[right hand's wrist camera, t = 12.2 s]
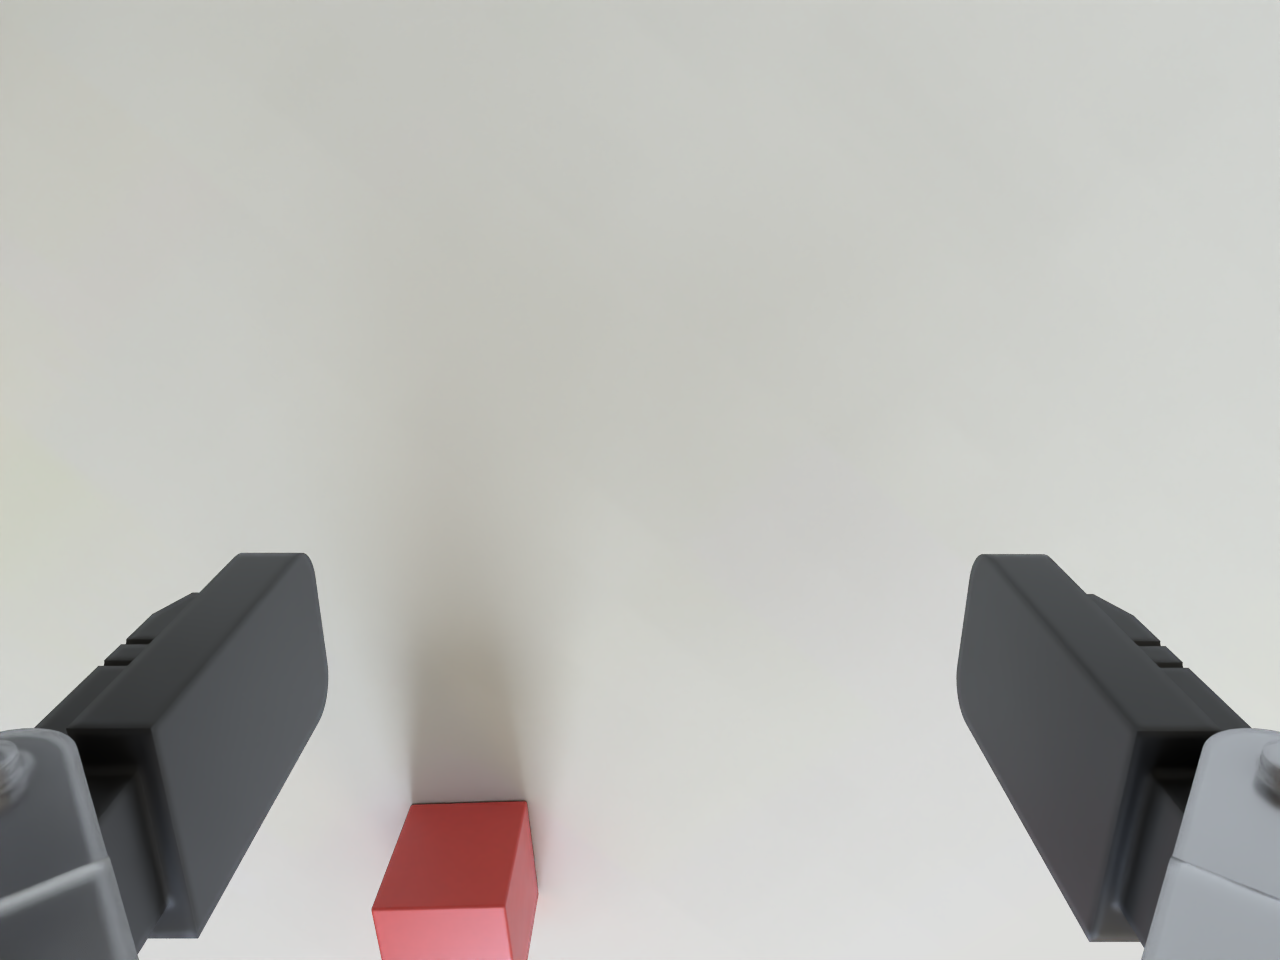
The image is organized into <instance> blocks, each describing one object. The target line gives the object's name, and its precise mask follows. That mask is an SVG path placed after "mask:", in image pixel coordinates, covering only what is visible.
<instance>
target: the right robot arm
mask: <svg viewBox="0 0 1280 960" xmlns="http://www.w3.org/2000/svg"><path fill="white" fill-rule="evenodd" d="M1182 663H1183V662H1182V661H1181V660H1180V659H1178V658H1177V657H1176V656H1175V655H1174V654H1173V653H1172V652H1171V651H1170V650H1169V649H1168V648H1167V647H1166V646H1161V645H1160V640H1159V639H1157V638H1156V637H1155V636H1154V635H1153V634H1152V633H1151V632H1150V631H1149V630H1148V629H1147V628H1146V627H1145V626H1144V625H1143V624H1142V623H1141V622H1140V621H1139V620H1138V619H1136V618H1135V617H1134V616H1133V615H1131V614H1129V613H1127V612H1126V611H1124V610H1122V609H1120V608H1118V607H1116V606H1114V605H1113V604H1111V603H1109V602H1107V601H1105V600H1103V599H1101V598H1099V597H1098V596H1096V595H1094V594H1086V593H1085V592H1084V591H1083V590H1082V589H1081V588H1080V587H1079V586H1078V585H1077V584H1076V583H1075V582H1074V581H1073V580H1072V579H1071V578H1070V577H1069V576H1068V575H1067V574H1066V573H1065V572H1064V571H1063V570H1062V569H1061V568H1060V567H1059V566H1058V565H1057V564H1056V563H1055V562H1054V561H1053V560H1052V559H1051V558H1050V557H1049V556H1047V555H1045V554H981V555H979V556H978V557H977V558H976V560H975V562H974V564H973V566H972V570H971V574H970V580H969V587H968V594H967V601H966V608H965V615H964V622H963V629H962V637H961V644H960V651H959V658H958V665H957V693H958V700H959V705H960V709H961V712H962V715H963V718H964V720H965V722H966V724H967V726H968V728H969V729H970V731H971V733H972V735H973V736H974V738H975V740H976V742H977V744H978V745H979V747H980V749H981V751H982V752H983V754H984V756H985V758H986V759H987V761H988V763H989V765H990V767H991V768H992V770H993V772H994V774H995V775H996V777H997V779H998V781H999V782H1000V784H1001V786H1002V788H1003V790H1004V791H1005V793H1006V795H1007V797H1008V798H1009V800H1010V802H1011V804H1012V806H1013V807H1014V809H1015V811H1016V813H1017V814H1018V816H1019V818H1020V820H1021V821H1022V823H1023V825H1024V827H1025V829H1026V830H1027V832H1028V834H1029V836H1030V837H1031V839H1032V841H1033V843H1034V844H1035V846H1036V848H1037V850H1038V852H1039V853H1040V855H1041V857H1042V859H1043V860H1044V862H1045V864H1046V866H1047V868H1048V869H1049V871H1050V873H1051V875H1052V876H1053V878H1054V880H1055V882H1056V883H1057V885H1058V887H1059V889H1060V891H1061V892H1062V894H1063V896H1064V898H1065V899H1066V901H1067V903H1068V905H1069V907H1070V908H1071V910H1072V912H1073V914H1074V915H1075V917H1076V919H1077V921H1078V922H1079V924H1080V926H1081V928H1082V930H1083V931H1084V933H1085V935H1086V937H1087V938H1088V940H1089V942H1141V944H1142V945H1143V947H1144V952H1143V955H1142V959H1141V960H1280V732H1278V731H1273V730H1265V729H1257V728H1251V727H1250V726H1249V725H1248V724H1247V723H1246V722H1245V721H1244V720H1242V719H1241V718H1240V717H1239V716H1238V715H1237V714H1236V713H1235V712H1234V711H1233V710H1232V709H1231V708H1230V707H1229V706H1228V705H1227V704H1226V703H1225V702H1224V701H1223V700H1221V699H1220V698H1219V697H1218V696H1217V695H1216V694H1215V693H1214V692H1213V691H1212V690H1211V689H1210V688H1209V687H1208V686H1207V685H1206V684H1205V683H1204V682H1203V681H1202V680H1200V679H1199V678H1198V677H1197V676H1196V675H1195V674H1194V673H1193V672H1192V671H1191V670H1190V669H1189V668H1183V665H1182ZM327 690H328V665H327V658H326V650H325V643H324V636H323V629H322V622H321V614H320V607H319V600H318V593H317V586H316V578H315V572H314V568H313V565H312V562H311V560H310V558H309V557H308V556H307V555H306V554H304V553H240V554H238V555H237V556H235V557H234V558H233V559H232V560H231V561H230V562H229V563H228V564H227V565H226V566H225V567H224V568H223V569H222V570H221V571H220V572H219V573H218V574H217V575H216V576H215V577H214V578H213V579H212V581H211V582H210V583H209V584H208V585H207V586H206V587H205V588H204V589H203V590H202V591H201V592H200V593H191V594H189V595H187V596H185V597H184V598H182V599H180V600H178V601H176V602H174V603H172V604H171V605H169V606H167V607H165V608H163V609H161V610H159V611H157V612H156V613H154V614H152V615H151V616H150V617H149V618H148V619H147V620H146V621H145V622H144V623H143V624H142V625H141V626H140V627H139V628H138V629H137V630H136V631H134V632H133V633H132V634H131V635H130V636H129V637H128V638H127V639H126V644H121V645H120V646H119V647H118V648H117V649H116V650H115V651H114V652H113V653H112V654H111V655H110V656H108V657H107V658H106V659H105V660H104V666H98V667H97V668H96V669H95V670H94V671H93V672H92V673H91V674H90V675H89V676H88V677H87V678H86V679H85V680H84V681H82V682H81V683H80V684H79V685H78V686H77V687H76V688H75V689H74V690H73V691H72V692H71V693H70V694H69V695H68V696H67V697H66V698H65V699H64V700H63V701H62V702H61V703H60V704H59V705H57V706H56V707H55V708H54V709H53V710H52V711H51V712H50V713H49V714H48V715H47V716H46V717H45V718H44V719H43V720H42V721H41V722H40V723H39V724H38V725H37V726H36V727H35V728H23V729H15V730H7V731H2V732H0V960H139V959H138V955H137V954H138V953H139V951H140V950H141V948H142V946H143V945H144V943H145V942H146V940H147V938H198V937H199V936H200V934H201V932H202V930H203V928H204V927H205V925H206V923H207V921H208V919H209V918H210V916H211V914H212V912H213V910H214V909H215V907H216V905H217V903H218V902H219V900H220V898H221V896H222V894H223V893H224V891H225V889H226V887H227V885H228V884H229V882H230V880H231V878H232V876H233V875H234V873H235V871H236V869H237V867H238V866H239V864H240V862H241V860H242V858H243V857H244V855H245V853H246V851H247V849H248V848H249V846H250V844H251V842H252V841H253V839H254V837H255V835H256V833H257V832H258V830H259V828H260V826H261V824H262V823H263V821H264V819H265V817H266V815H267V814H268V812H269V810H270V808H271V806H272V805H273V803H274V801H275V799H276V797H277V796H278V794H279V792H280V790H281V789H282V787H283V785H284V783H285V781H286V780H287V778H288V776H289V774H290V772H291V771H292V769H293V767H294V765H295V763H296V762H297V760H298V758H299V756H300V754H301V753H302V751H303V749H304V747H305V745H306V744H307V742H308V740H309V738H310V737H311V735H312V733H313V731H314V729H315V728H316V726H317V724H318V722H319V720H320V718H321V716H322V713H323V710H324V707H325V702H326V697H327Z"/></svg>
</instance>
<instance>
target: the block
mask: <svg viewBox="0 0 1280 960" xmlns="http://www.w3.org/2000/svg"><path fill="white" fill-rule="evenodd" d="M537 899H538V888H537V880H536V872H535V864H534V856H533V848H532V840H531V832H530V824H529V816H528V808H527V803H526V801H514V802H482V803H451V804H419V805H411V807H410V809H409V812H408V815H407V817H406V820H405V822H404V825H403V828H402V830H401V833H400V836H399V838H398V841H397V844H396V846H395V849H394V851H393V854H392V857H391V859H390V862H389V865H388V867H387V870H386V872H385V875H384V878H383V880H382V883H381V886H380V888H379V891H378V893H377V896H376V899H375V901H374V904H373V907H372V915H373V920H374V924H375V929H376V934H377V939H378V944H379V948H380V953H381V958H382V960H527V959H528V953H529V947H530V941H531V935H532V929H533V923H534V917H535V911H536V905H537Z"/></svg>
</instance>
